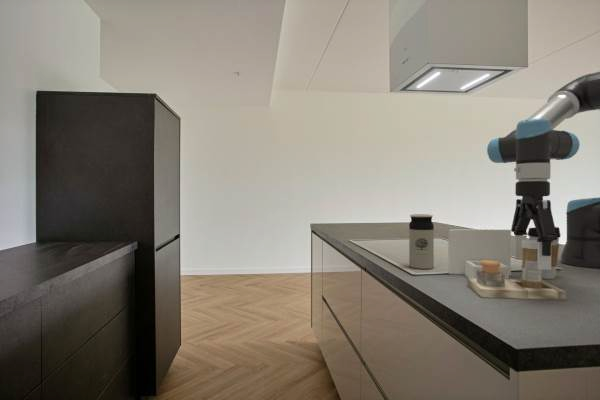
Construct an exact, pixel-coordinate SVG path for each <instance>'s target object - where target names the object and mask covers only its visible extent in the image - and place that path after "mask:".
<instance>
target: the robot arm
mask: <svg viewBox="0 0 600 400" xmlns="http://www.w3.org/2000/svg"><path fill="white" fill-rule="evenodd" d="M596 110H597V111H598V110H600V71H596V72H594V73H588V74H584V75H581V76H579V77H577V78H575V79H573V80H571V81H570V82H568V83H567V84H565V85H563V86H562V87H560V88H559V89H557V90H555V92H554V93H552V94H551V95H550V96H549V97H548V99H547V101H546V102H545V104H544V105H543V106H541V107H540V108H539V109H538V110H536V111H535V112H534V113H533V114H532V115H530V116H529V117H528V118H527V119H523V120H520V121H518V122H517V124H516V128H514V129H513V130H512V131H511V132H510V133H508V134H507V135H506V136H504V137H503V136H502V137H497V138H494V139H492V140H490V141H489V143H488V145H487V147H486V148H487V149H486V151H487V152H486V153H487V156H488V159H489V160H490V161H491V162H492V163H495V164H500V163H501V164H507V163H508V164H509V163H515V167H514V170H513V171H514V172H515V179H516V180H517V181H516V182H515V191H514V192H515V193H514V194H515V196H516V197H522V198H517V199H516V202H515V211H514V215H513V220H512V224H511V229H510V230H511V233H513V235H514V260H518V261H519V260H520V261H521V260H522V261H523V249H522V241H523V240H528V239H527V238H528V237H527V236H528V231H527V230H528V229H529V225H530V223H531V220H532V222H533V224H534V228H536V231H537V234H538V236H539V238H538V239H537V242H538V255H537V269H546V270H551V242H553V241H554V240H557V234H556V230H555V227H556V225H555V221H554V217H553V212H552V205H551V204H552V203H551V200H550V199H544V197H549V196H550V195H551V183H550V181H548V180H549V179H551V160H556V161H560V160H561V161H563V160H567V159H571V158H573V157H574V156H575V155H576V154H577V153H578V152H579V149H580V140H579V138H578V137H577V135H576V134H575V133H572V132H569V131H567V130H566V131H565V130H557V129H556V128H557V127H558V126H559V125H560V124H562V122H563V121H565V120H568V119H570V118H573V117H574V116H576V115H577V114H580V113H584V112H590V111H596ZM565 213H566V242H565V244H564V246H563V249H562V251H561V255H560V263H563V264H566V265H569V266H570V265H571V266H575V267H584V268H597V269H599V268H600V197H599V196H598V197H589V198H579V199H572V200H569V201H568V203H567V206H566V212H565Z"/></svg>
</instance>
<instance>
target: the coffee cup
mask: <svg viewBox="0 0 600 400" xmlns="http://www.w3.org/2000/svg"><path fill="white" fill-rule="evenodd" d="M555 230H556V234H557V240H554V241H553V242H551V270H546V269H542V280H543V279H545V280H553V279H556V273H557V264H558V258H559V257H558V256H559V248H560V244H559V240H560V238H561V235H562V234H561V232H560V227H557V226H555ZM527 234H528V235H527V236H528V238H529V239H528V240H537V239H538V238H539V236H538V234H537V231H536V228H535V227H528V231H527Z"/></svg>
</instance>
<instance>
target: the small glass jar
mask: <svg viewBox="0 0 600 400" xmlns="http://www.w3.org/2000/svg"><path fill="white" fill-rule="evenodd" d="M481 265H482V272H483V273H485V274H499V267H500V262H499V261H493V260H482V261H481Z"/></svg>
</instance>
